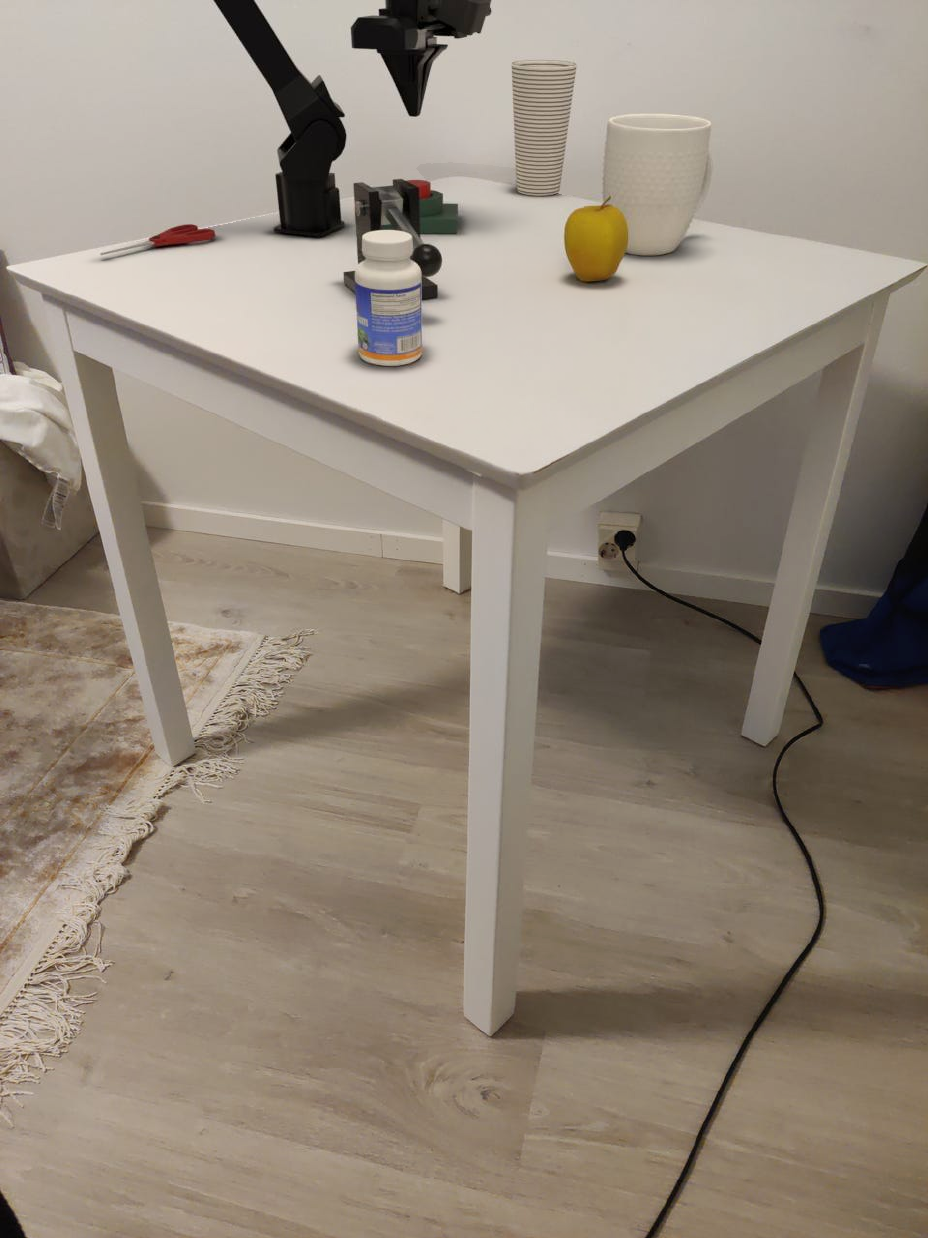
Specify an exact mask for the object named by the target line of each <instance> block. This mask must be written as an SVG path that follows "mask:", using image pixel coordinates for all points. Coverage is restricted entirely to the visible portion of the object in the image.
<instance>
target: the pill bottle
mask: <svg viewBox="0 0 928 1238" xmlns="http://www.w3.org/2000/svg"><path fill="white" fill-rule="evenodd" d="M362 252H363V255H364V256H365V257H366V259H365V260H364V261H362V262H361V263H359V264H358V263H357V265H356V267H355V270H354V271H355V292H356V293H355V292H354V293H355V310H356V326H357V327H356V329H357V346H358V354H359V356H360V358H361V360H363V361H365V362H366V363H369V364H372V365H376V366H385V367H395V366H397V367H399V366H404V365H409V364H412V363H413V362H416V361H417V360H418V359H419V358H420V357H421V356H422V354H423V323H422V321H423V318H422V316H423V315H422V313H423V309H422V308H423V307H422V305H423V303H422V301H423V299H422V280H421V269H420V267H419V266H418V265H417V264H416V263H415V262H414V261H412V260H410V256H411V255H412V254H413V239H412V235H411V234H409V233H407V232H403V231H397V230H378V231H371V232H368V233H365V234H364V235H363V236H362Z"/></svg>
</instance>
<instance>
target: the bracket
mask: <svg viewBox="0 0 928 1238" xmlns="http://www.w3.org/2000/svg"><path fill="white" fill-rule="evenodd" d="M392 186H394V188H395V189H396V190H397V192H398V193H399V194H400V196H401V197H402V198H403V212H402V214H403V216H404V217H405V218H406V220H407V221H408V222H409V224H410V225H411V226H412V228H413V229H414V231H415V232H416V233H417V235H418V236H419V237H420V238H421V233H420V207H419V187H417V186H415V185H413V184H411V183H409V182H407V180H405V179H404V178H397V179H396V178H394V179H392ZM372 187H373V186H370V185H368V184H366V182H365V183H364V182H363V181H361V182H353V201H354V218H355V234H356V235H355V236H356V237H355V238H356V252H357V253H356V254H357V265H358V264H359V263H361V262H362V261H364V260H365V259H366V257H365V256H364V255H363V252H362V236H363V235H364V234H365V233H368V232H371V231H378V230H381V229H380V206H379V191H377V190H375V189H374V188H372ZM394 230H395V229H394ZM411 256H412V255H411ZM411 256H410V260H411ZM342 275H343V284H344V285H345V286H346V287H347V288H348V289H350V290H351V291H352V292H353V293H354V294H356V292H355V270H349V271H343V274H342ZM421 280H422V300H428V299H434V298H438V297H439V295H438V294H439V293H438V290H439V289H438V284H437V283H435V282H433V281H432V280H431V279H429V277H422V276H421Z"/></svg>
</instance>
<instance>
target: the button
mask: <svg viewBox="0 0 928 1238" xmlns="http://www.w3.org/2000/svg"><path fill="white" fill-rule="evenodd" d="M406 181H407V182H409V183H411V184H413V185H415V186H417V187H419V199H421V198H428V197H431V190H432V187H431V181H428V180H425V179H408V180H406Z"/></svg>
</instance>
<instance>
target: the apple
mask: <svg viewBox="0 0 928 1238" xmlns="http://www.w3.org/2000/svg"><path fill="white" fill-rule="evenodd" d="M610 199H611V196H610V197H609V198H608V199H607V200H606V201H605V202H604V201H603V203H602V204H600V205H586V206H583V207H579V208H577V209H574V210H573V211H572V212H571V213H570V214H569V216H568V217H567V220H566V222H565V225H564V231H563V232H564V233H563V240H564V241H563V243H564V251H565V255H566V258H567V260H568V262H569V264H570V266H571V268H572V270H573V272H574V274H575V276H576V277H577V279H579V280H580V281H582V282H596V281H601V282H602V281H605V280H607V279H609V278H611V276H613V275H614V274H615V273H616V272H617V271H618V268H619V267H620V264H621V263H622V260H623V258H624V256H625V254H626V253H625V251H626V248H627V245H628V227H627V223H626V220H625V217H624V215H623V213H622V212H621V211H620V210H619V209H618V208H616V207H615V206H613V205H605V203H606V202H608V201H609V200H610Z"/></svg>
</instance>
